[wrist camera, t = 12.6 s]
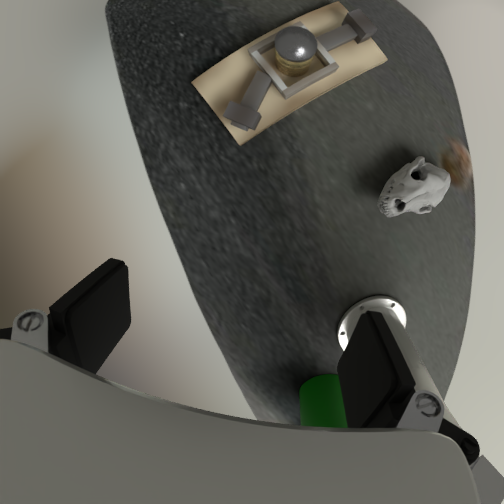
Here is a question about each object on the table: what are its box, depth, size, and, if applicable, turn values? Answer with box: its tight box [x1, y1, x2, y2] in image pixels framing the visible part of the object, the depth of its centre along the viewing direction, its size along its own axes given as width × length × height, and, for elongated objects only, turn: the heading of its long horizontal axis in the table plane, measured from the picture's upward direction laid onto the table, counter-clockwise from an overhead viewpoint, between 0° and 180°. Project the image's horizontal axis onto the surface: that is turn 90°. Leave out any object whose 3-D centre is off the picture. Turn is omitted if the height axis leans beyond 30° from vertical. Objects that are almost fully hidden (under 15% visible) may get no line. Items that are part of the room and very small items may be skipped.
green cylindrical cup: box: [299, 374, 348, 428], centre depth 40 cm, size 10×9×20 cm
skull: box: [377, 156, 451, 217], centre depth 30 cm, size 8×9×12 cm
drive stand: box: [191, 1, 388, 145], centre depth 27 cm, size 11×24×6 cm, turn 125°
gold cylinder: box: [274, 26, 318, 77], centre depth 24 cm, size 4×4×7 cm
